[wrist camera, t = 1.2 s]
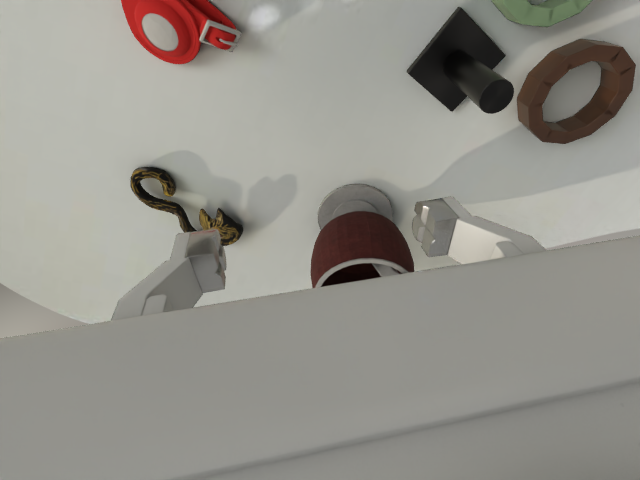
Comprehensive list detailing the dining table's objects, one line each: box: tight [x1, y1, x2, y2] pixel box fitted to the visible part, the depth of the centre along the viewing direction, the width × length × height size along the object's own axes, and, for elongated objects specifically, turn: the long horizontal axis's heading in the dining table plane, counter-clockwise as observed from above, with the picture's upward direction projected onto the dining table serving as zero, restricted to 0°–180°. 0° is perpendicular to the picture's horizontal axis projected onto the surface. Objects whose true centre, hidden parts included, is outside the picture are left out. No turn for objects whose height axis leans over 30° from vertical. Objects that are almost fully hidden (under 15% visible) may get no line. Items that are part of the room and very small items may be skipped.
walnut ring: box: [517, 39, 636, 144], centre depth 41 cm, size 11×11×3 cm
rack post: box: [407, 7, 514, 113], centre depth 35 cm, size 8×8×13 cm
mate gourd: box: [311, 184, 414, 288], centre depth 47 cm, size 16×14×20 cm
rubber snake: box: [131, 167, 243, 246], centre depth 52 cm, size 18×5×10 cm
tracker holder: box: [121, 0, 241, 64], centre depth 36 cm, size 12×4×10 cm
